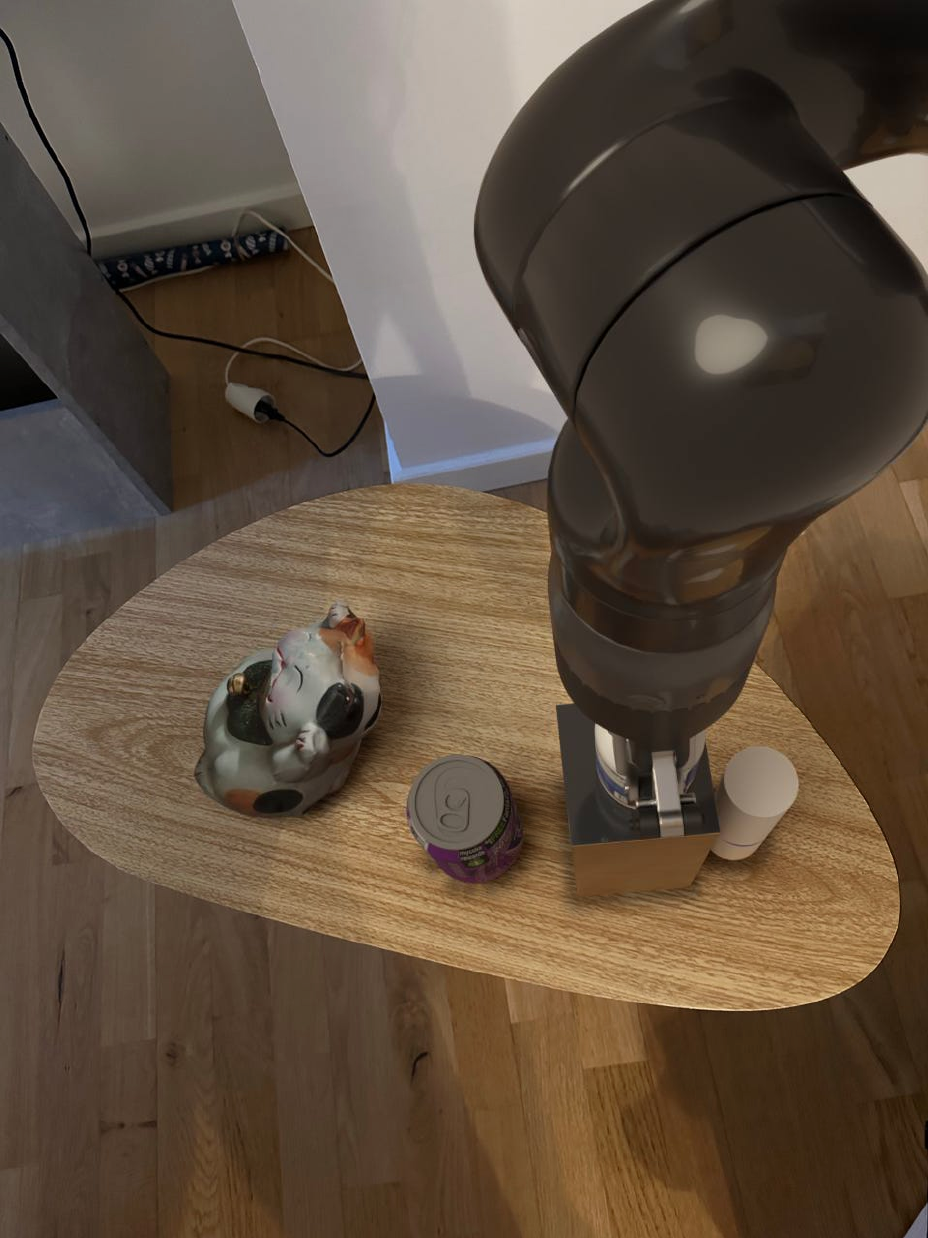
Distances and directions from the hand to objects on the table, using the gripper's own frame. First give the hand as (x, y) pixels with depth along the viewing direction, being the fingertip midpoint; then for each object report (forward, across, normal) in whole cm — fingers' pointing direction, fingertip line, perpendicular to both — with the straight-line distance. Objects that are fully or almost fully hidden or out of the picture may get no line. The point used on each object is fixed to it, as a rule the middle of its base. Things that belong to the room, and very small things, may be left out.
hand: (640, 737), depth 52 cm
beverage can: (+26, +1, +11) cm, 28 cm away
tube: (+26, 0, -7) cm, 27 cm away
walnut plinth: (+26, 0, 0) cm, 26 cm away
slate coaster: (+6, 0, 0) cm, 6 cm away
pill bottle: (+6, 0, 0) cm, 6 cm away
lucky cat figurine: (+26, +11, +24) cm, 37 cm away
